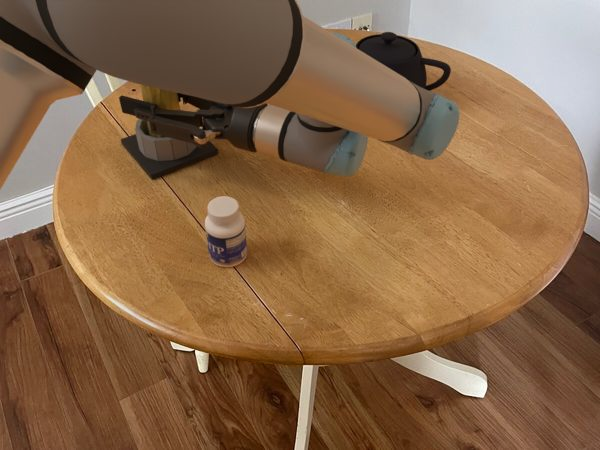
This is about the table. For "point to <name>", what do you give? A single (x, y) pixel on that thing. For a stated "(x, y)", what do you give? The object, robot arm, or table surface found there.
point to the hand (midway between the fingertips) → (134, 94)
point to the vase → (160, 101)
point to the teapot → (402, 58)
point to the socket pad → (168, 165)
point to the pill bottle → (225, 232)
